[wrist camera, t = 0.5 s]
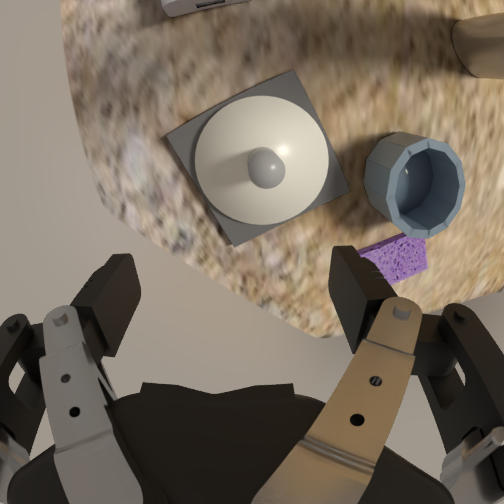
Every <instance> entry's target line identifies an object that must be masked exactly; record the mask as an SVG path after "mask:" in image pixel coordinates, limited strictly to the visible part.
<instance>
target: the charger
mask: <svg viewBox="0 0 504 504" xmlns="http://www.w3.org/2000/svg"><path fill="white" fill-rule="evenodd" d="M222 1H225V2H224V3H218V4H214V5H209V6H204V7H200V8H197V7H199V6H203V5H207V4H212V3H217V2H222ZM246 1H251V0H161V5H162V9H163V10H164V11H165V12H166V13H167V15H168V16H169V17H176V16H180V15H184V14H187V13H191V12H195V11H199V10H203V9H208V8H212V7H217V6H222V5H228V4H234V3H240V2H246Z"/></svg>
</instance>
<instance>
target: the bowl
mask: <svg viewBox="0 0 504 504" xmlns="http://www.w3.org/2000/svg"><path fill="white" fill-rule="evenodd" d="M363 183H364V187H365V190H366V193H367V195H368V198H369V201H370V204H371V205H372V206H373V207H374V208H375V209H376V210H378V211H379V212H380V213H381V214H382V215H384V216H385V217H386V218H387V219H388V220H390V221H391V222H392V223H393V224H394V225H395V226H397V227H398V228H399V229H400V230H401V231H402V232H403V233H405V234H406V235H407V236H408V237H410V238H430V237H432V236H434V235H436V234H437V233H439V232H441V231H443V230H444V229H446V228H447V227H448V226H449V224H450V223H451V221H452V220H453V219H454V217H455V216H456V214H457V213H458V211H459V210H460V207H461V203H462V199H463V194H464V190H465V179H464V173H463V168H462V162H461V160H460V159H459V158H458V156H457V155H456V154H455V152H454V151H453V150H452V148H451V147H450V146H449V145H448V144H447V143H444V142H440V141H437V140H434V139H430V138H426V137H422V136H418V135H413V134H409V133H404V132H397V133H395V134H392V135H390V136H388V137H385V138H383V139H381V140H380V141H379V142H378V143H377V145H376V146H375V148H374V149H373V151H372V152H371V153H370V155H369V156H368V158H367V159H366V167H365V175H364V182H363Z"/></svg>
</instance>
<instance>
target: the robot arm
mask: <svg viewBox="0 0 504 504" xmlns="http://www.w3.org/2000/svg"><path fill="white" fill-rule="evenodd" d="M452 40H453V45H454V48H455V51H456V53H457V55H458V57H459V59H460V61H461V63H462V64H463V65H464V67H465V68H466V69H467V70H468V71H469V72H470V73H471V74H472V75H474V76H476V77H478V78H489V79H504V13H497V14H491V15H485V16H479V17H474V18H469V19H464V20H460V21H458V22H456V23H455V24H454V26H453V29H452ZM328 286H329V294H330V297H331V299H332V302H333V304H334V307H335V309H336V312H337V314H338V317H339V319H340V322H341V324H342V327H343V330H344V332H345V335H346V337H347V340H348V343H349V345H350V348H351V351H352V353H353V354H355V355H354V357H353V359H352V360H351V362H350V364H349V366H348V368H347V370H346V371H345V373H344V375H343V377H342V378H341V380H340V382H339V383H338V385H337V387H336V389H335V390H334V392H333V393H332V395H331V397H330V398H329V400H328V402H327V403H324V402H322V401H320V400H317V399H314V398H312V397H308V396H303V395H298V394H294V387H293V383H291V384H276V385H257V386H251V387H247V388H242V389H238V390H234V391H229V392H224V393H220V394H210V393H206V392H202V391H198V390H194V389H190V388H186V387H183V386H179V385H171V384H157V383H145V382H143V383H142V387H141V390H140V393H136V394H131V395H127V396H124V397H121V398H119V399H118V398H117V396H116V394H115V392H114V390H113V387H112V385H111V382H110V380H109V378H108V375H107V373H106V370H105V368H104V365H103V364H102V362H101V359H102V357H103V356H108V357H115V355H116V353H117V350H118V348H119V346H120V343H121V341H122V339H123V337H124V334H125V332H126V330H127V328H128V325H129V323H130V321H131V319H132V316H133V314H134V312H135V310H136V308H137V305H138V303H139V301H140V297H141V287H140V283H139V279H138V275H137V271H136V268H135V263H134V259H133V257H132V255H131V254H129V253H127V254H113V255H112V256H111V257H110V258H109V260H108V261H107V262H106V263H105V265H104V266H102V267H101V268H99V269H98V270H97V271H95V272H94V273H93V274H92V276H91V277H90V278H89V280H88V281H87V282H86V283H85V285H84V288H82V289H81V290H80V292H79V293H78V294H77V296H76V297H75V298H74V300H73V301H72V303H71V304H70V305H69V306H68V305H66V306H60V307H57V308H55V309H54V310H52V311H50V312H49V313H48V314H47V315H46V317H45V318H44V321H43V323H39V324H33V325H30V323H29V321H28V319H27V317H26V316H25V315H24V314H16V315H13V316H11V317H9V318H8V319H6V320H5V321H4V322H3V324H2V325H1V326H0V502H2V503H4V504H497V503H499V502H501V501H502V500H504V354H503V353H502V351H501V350H500V348H499V347H498V345H497V344H496V342H495V341H494V339H493V338H492V336H491V335H490V334H489V332H488V331H487V329H486V328H485V326H484V325H483V324H482V322H481V321H480V320H479V318H478V317H477V315H476V314H475V313H474V312H473V311H472V310H471V309H469V308H468V307H466V306H464V305H462V304H457V303H452V304H448V305H447V306H445V308H444V310H443V313H442V315H441V316H439V315H429V314H422V311H421V309H420V307H419V306H418V305H417V304H416V303H415V302H413V301H411V300H409V299H407V298H403V297H398V296H397V294H396V293H395V291H394V290H393V288H392V287H391V285H390V284H389V283H388V281H387V280H386V279H385V278H384V276H383V274H382V273H381V272H380V270H379V269H378V267H377V266H376V265H375V263H373V262H372V261H370V260H369V259H367V258H366V257H361V256H360V255H359V254H358V252H357V251H356V249H355V248H354V247H353V246H352V245H350V246H334V247H333V249H332V256H331V265H330V273H329V282H328ZM16 362H18V363H19V365H20V366H21V368H22V369H23V370H24V372H25V374H24V376H23V378H22V380H21V382H20V384H19V386H18V388H17V390H16V392H15V394H14V393H13V392H12V390H11V389H10V387H9V376H10V374H11V372H12V370H13V368H14V366H15V364H16ZM457 362H459V365H460V366H461V368H462V370H463V372H464V374H465V386H464V384H463V383H462V380H461V379H460V376H459V374H458V372H457V370H456V369H455V365H456V363H457ZM410 375H418V377H419V380H420V382H421V385H422V387H423V390H424V392H425V395H426V397H427V400H428V402H429V405H430V408H431V410H432V413H433V415H434V418H435V421H436V424H437V427H438V430H439V432H440V435H441V438H442V441H443V444H444V448H445V451H446V454H447V456H446V457H445V459H444V461H443V464H442V473H441V475H440V480H441V482H442V483H441V482H440V481H438V480H437V479H435V478H433V477H432V476H430V475H428V474H427V473H425V472H424V471H422V470H421V469H419V468H417V467H416V466H414V465H413V464H411V463H410V462H408V461H407V460H405V459H404V458H402V457H401V456H399V455H398V454H396V453H395V452H394V451H392V450H391V449H389V448H388V447H386V446H385V443H386V440H387V438H388V435H389V433H390V431H391V428H392V426H393V423H394V421H395V418H396V416H397V413H398V410H399V408H400V405H401V402H402V399H403V396H404V393H405V390H406V387H407V384H408V381H409V378H410ZM45 408H47V413H48V417H49V422H50V426H51V430H52V434H53V438H54V442H55V444H54V445H52V446H51V447H49V448H48V449H47V450H45V451H44V452H42V453H41V454H40V455H38V456H37V457H36V458H34V459H32V460H31V461H30V458H29V456H30V452H31V449H32V446H33V443H34V440H35V436H36V434H37V431H38V428H39V425H40V422H41V419H42V416H43V414H44V411H45Z"/></svg>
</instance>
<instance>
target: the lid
mask: <svg viewBox="0 0 504 504" xmlns="http://www.w3.org/2000/svg"><path fill="white" fill-rule="evenodd" d="M328 161H329V157H328V148H327V144H326V141H325V138H324V135H323V133H322V131H321V129H320V128H319V126H318V125H317V123H316V122H315V120H314V119H313V118H312V117H311V116H310V115H309V114H308V113H307V112H306V111H304V110H303V109H302V108H301V107H299V106H297V105H295V104H294V103H292V102H289V101H287V100H285V99H281V98H277V97H272V96H252V97H247V98H243V99H240V100H237V101H235V102H232V103H230V104H228V105H227V106H225V107H224V108H222V109H221V110H220V111H218V112H217V113H216V114H215V115H214V116H213V117H212V118H211V119H210V120H209V122H208V123H207V124H206V126H205V127H204V129H203V131H202V133H201V135H200V137H199V140H198V143H197V147H196V152H195V170H196V174H197V179H198V181H199V184H200V186H201V188H202V190H203V192H204V194H205V195H206V197H207V198H208V200H209V201H210V202H211V203H212V204H213V205H214V206H215V207H216V208H217V209H218V210H220V211H221V212H222V213H224V214H225V215H227V216H229V217H231V218H233V219H235V220H238V221H241V222H244V223H249V224H256V225H268V224H274V223H279V222H282V221H285V220H288V219H290V218H292V217H294V216H296V215H298V214H299V213H301V212H302V211H303V210H305V209H306V208H307V207H308V206H309V205H310V204H311V203H312V202H313V201H314V200H315V198H316V197H317V196H318V194H319V192H320V191H321V189H322V187H323V185H324V182H325V179H326V176H327V171H328Z"/></svg>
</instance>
